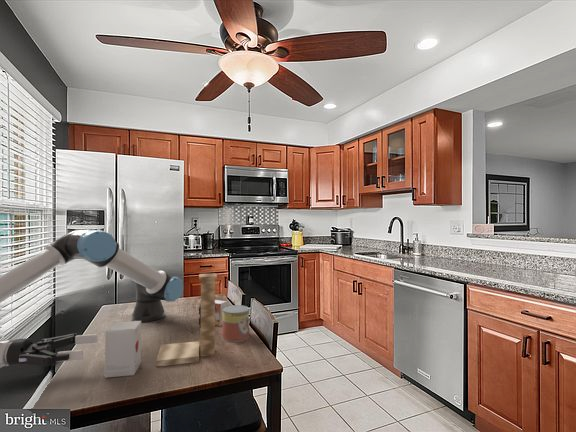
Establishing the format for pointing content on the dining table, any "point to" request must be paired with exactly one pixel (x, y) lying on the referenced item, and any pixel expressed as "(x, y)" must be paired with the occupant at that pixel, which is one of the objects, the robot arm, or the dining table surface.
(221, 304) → the small box
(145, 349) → the dining table surface
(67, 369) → the dining table surface
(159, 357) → the maple pad
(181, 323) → the dining table surface
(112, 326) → the supplement box
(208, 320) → the oak post
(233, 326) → the canned food
